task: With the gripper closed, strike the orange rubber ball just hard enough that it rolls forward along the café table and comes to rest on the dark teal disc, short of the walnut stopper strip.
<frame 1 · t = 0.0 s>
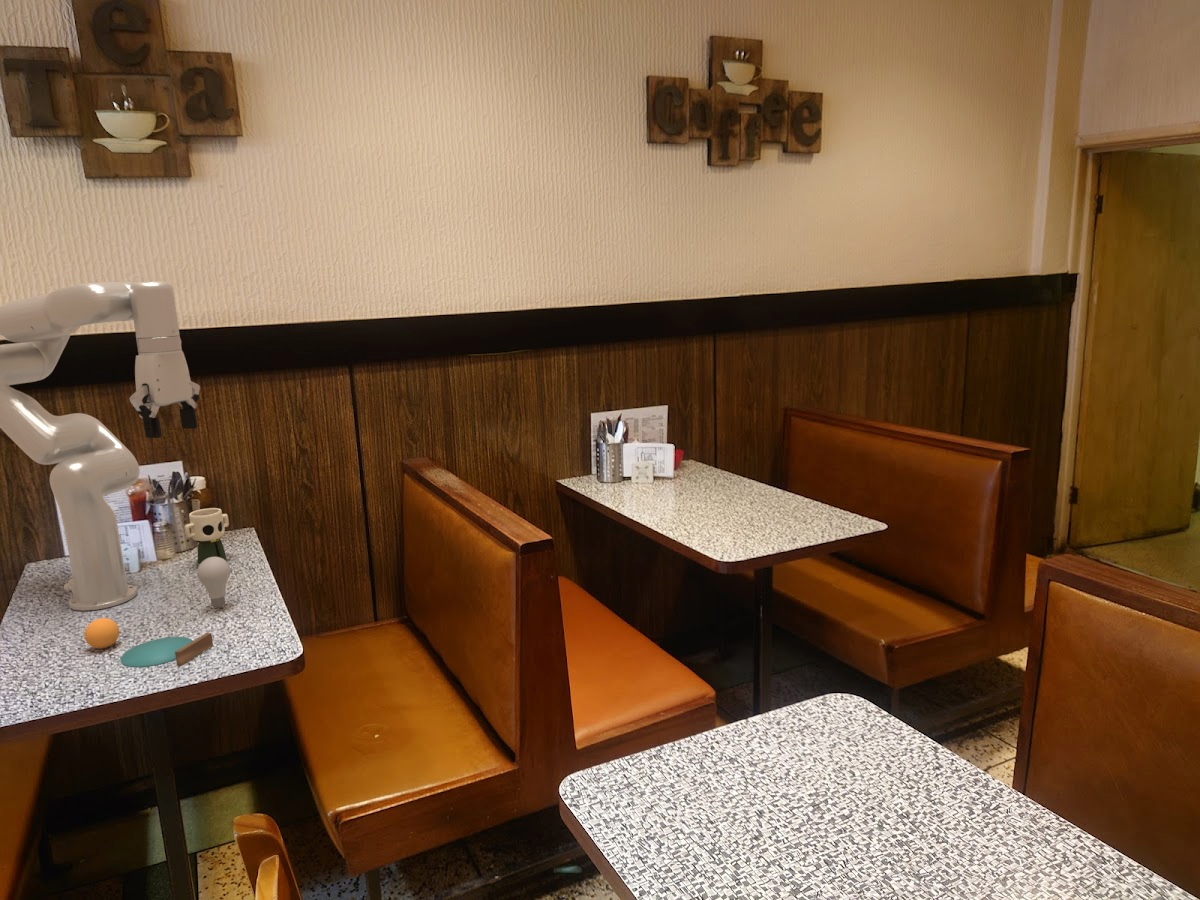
hand: (172, 432, 165), 37 cm above the table, tool pointing down, fingers open, 9 cm apart
lightbulb: (219, 609, 171), on the table
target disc: (158, 651, 151), on the table
stopper strip: (195, 655, 149), on the table
ball: (102, 633, 154), on the table
character mug: (212, 564, 199), on the table
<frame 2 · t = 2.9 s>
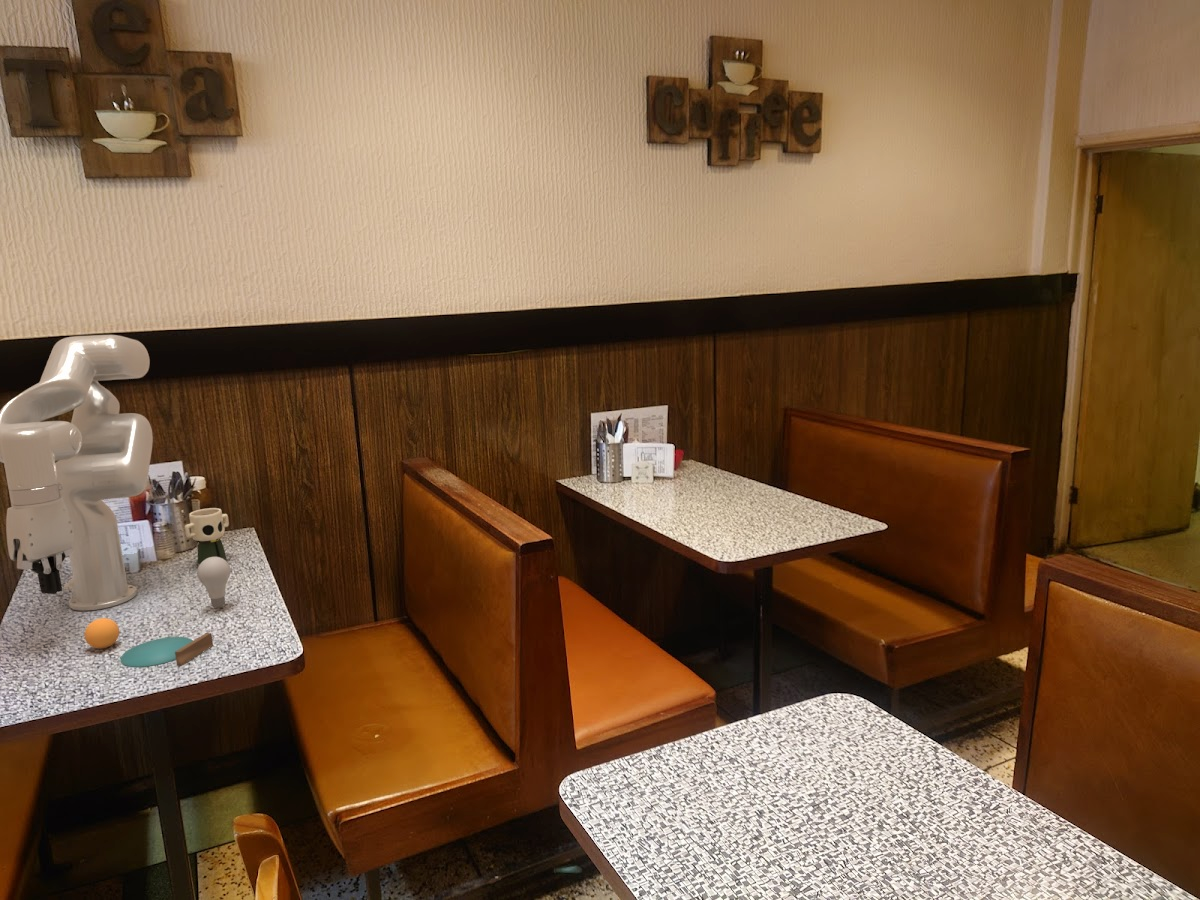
hand: (51, 591, 154), 11 cm above the table, tool pointing down, fingers closed
nothing on the table moved.
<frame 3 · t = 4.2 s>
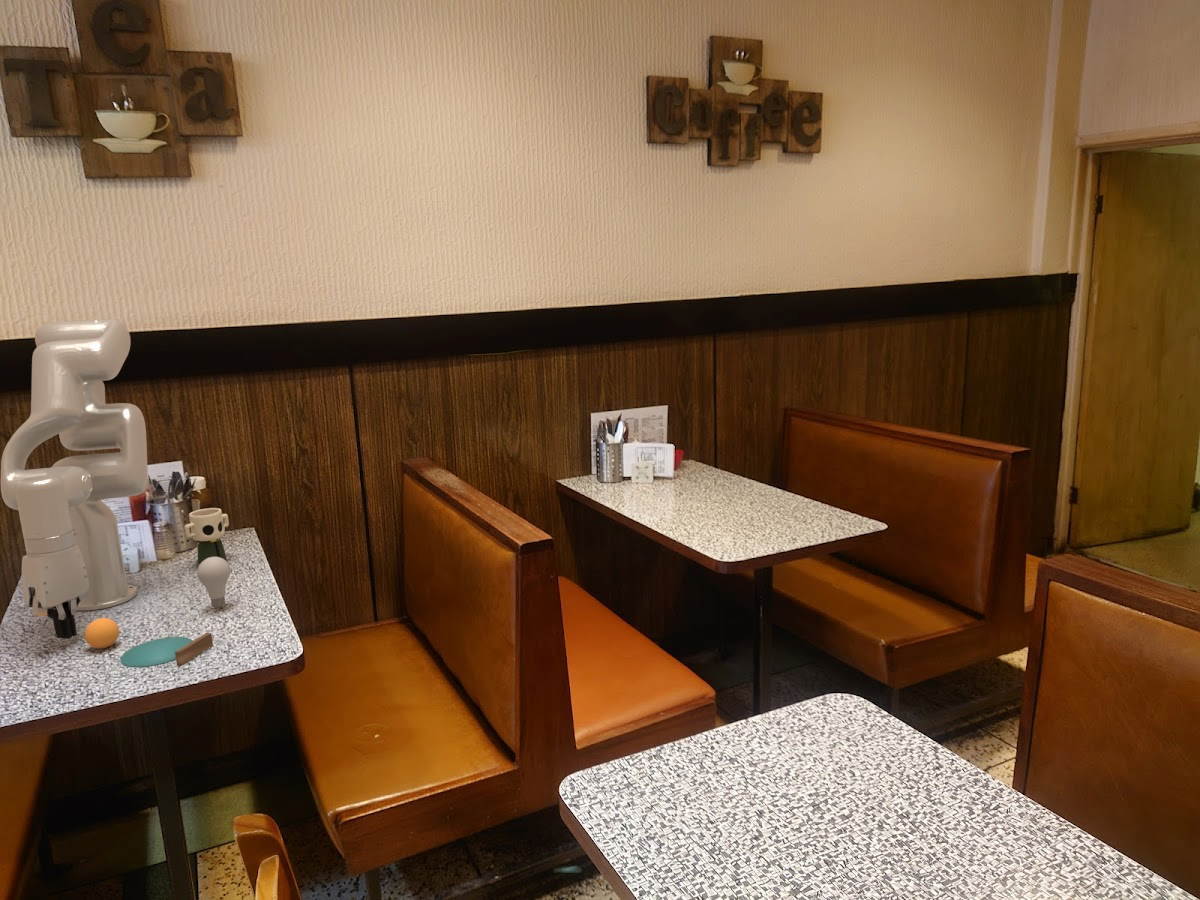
hand: (66, 636, 156), 2 cm above the table, tool pointing down, fingers closed
nothing on the table moved.
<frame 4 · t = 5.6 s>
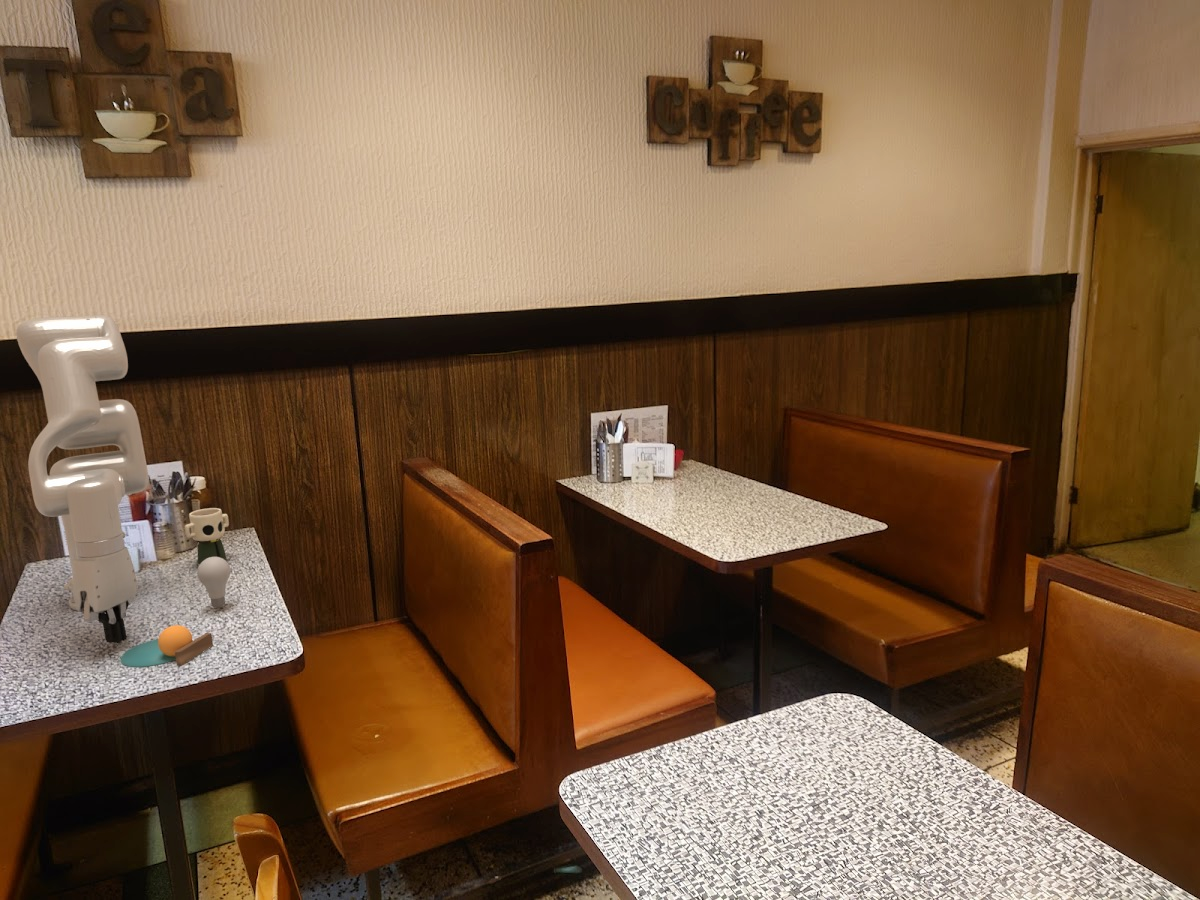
hand: (116, 640, 153), 2 cm above the table, tool pointing down, fingers closed
ball: (175, 640, 149), on the table
everything else where it was.
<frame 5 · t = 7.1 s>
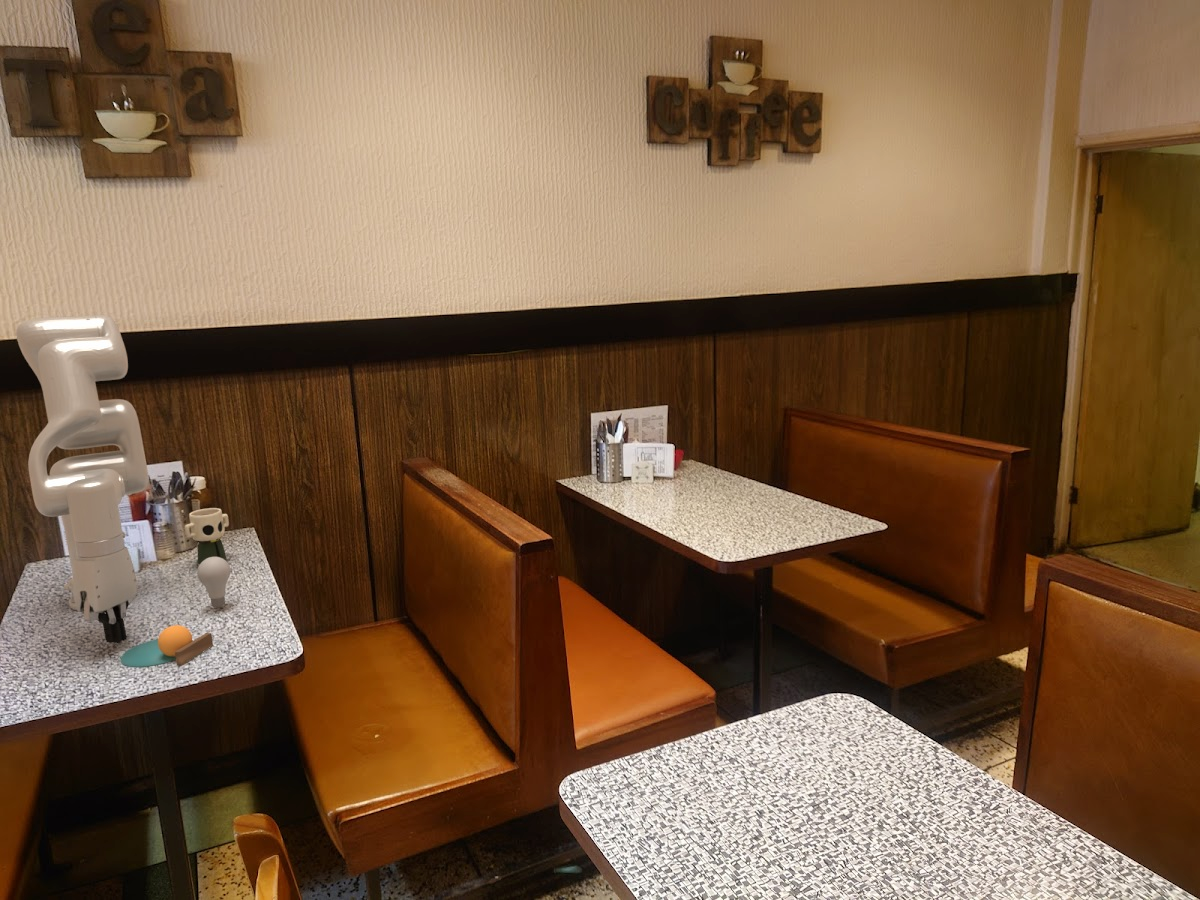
hand: (116, 640, 153), 2 cm above the table, tool pointing down, fingers closed
nothing on the table moved.
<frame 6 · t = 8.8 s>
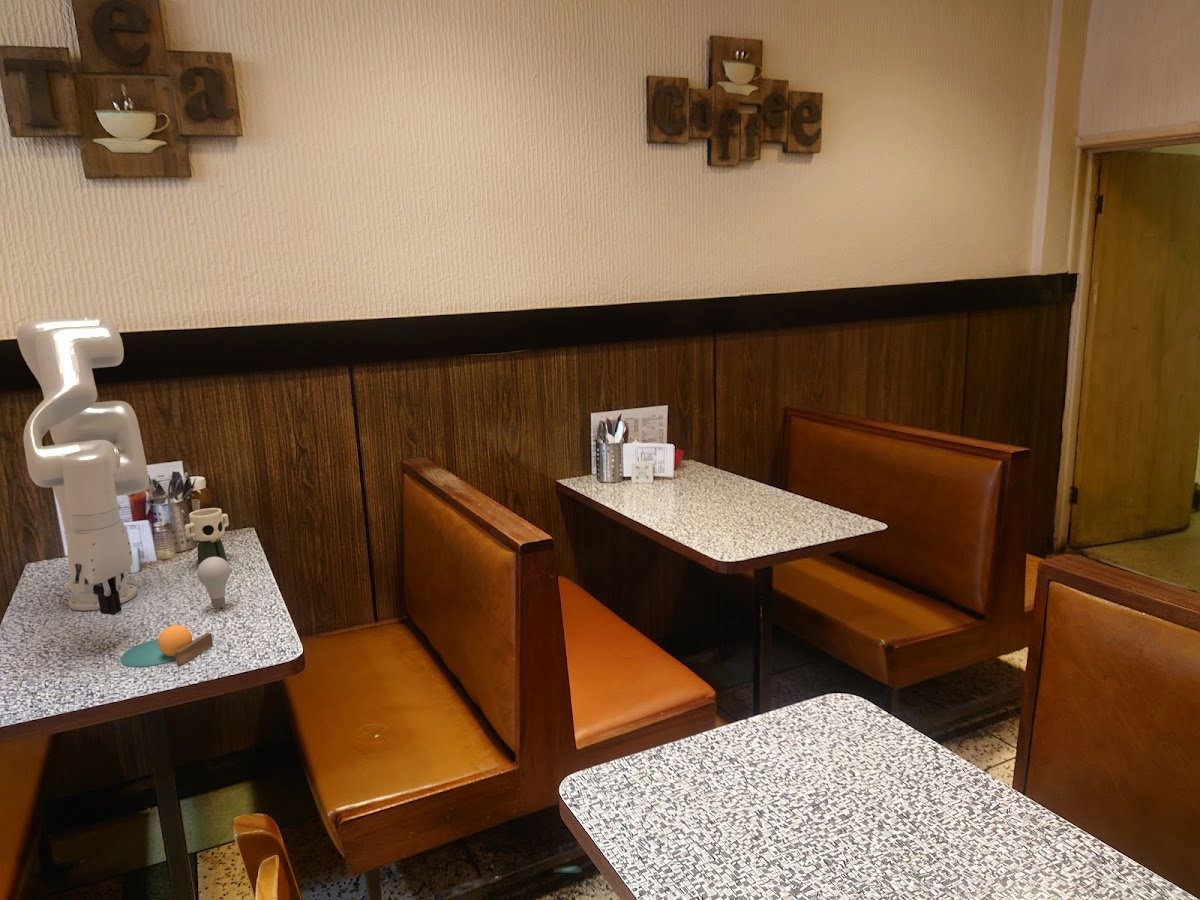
hand: (111, 612, 153), 7 cm above the table, tool pointing down, fingers closed
nothing on the table moved.
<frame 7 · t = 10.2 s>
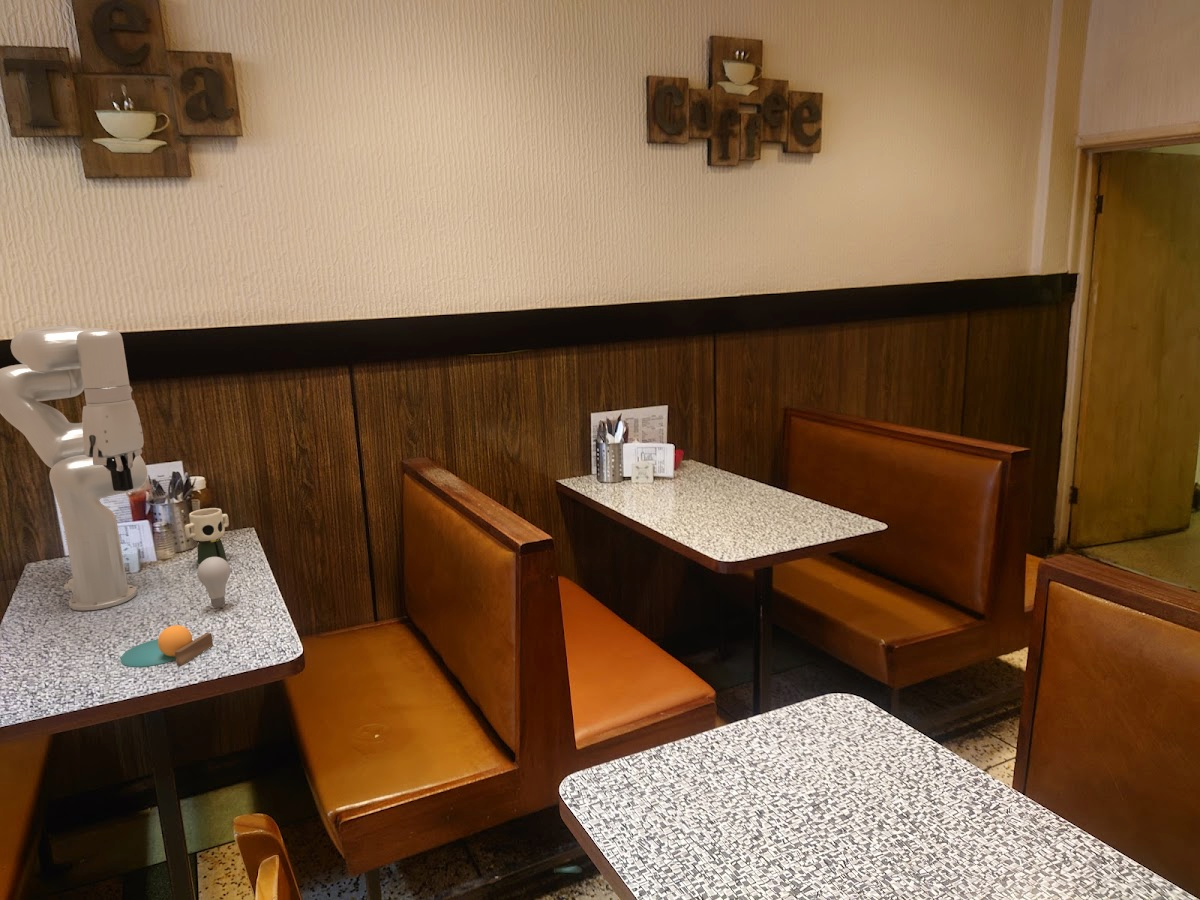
hand: (123, 489, 160), 27 cm above the table, tool pointing down, fingers closed
nothing on the table moved.
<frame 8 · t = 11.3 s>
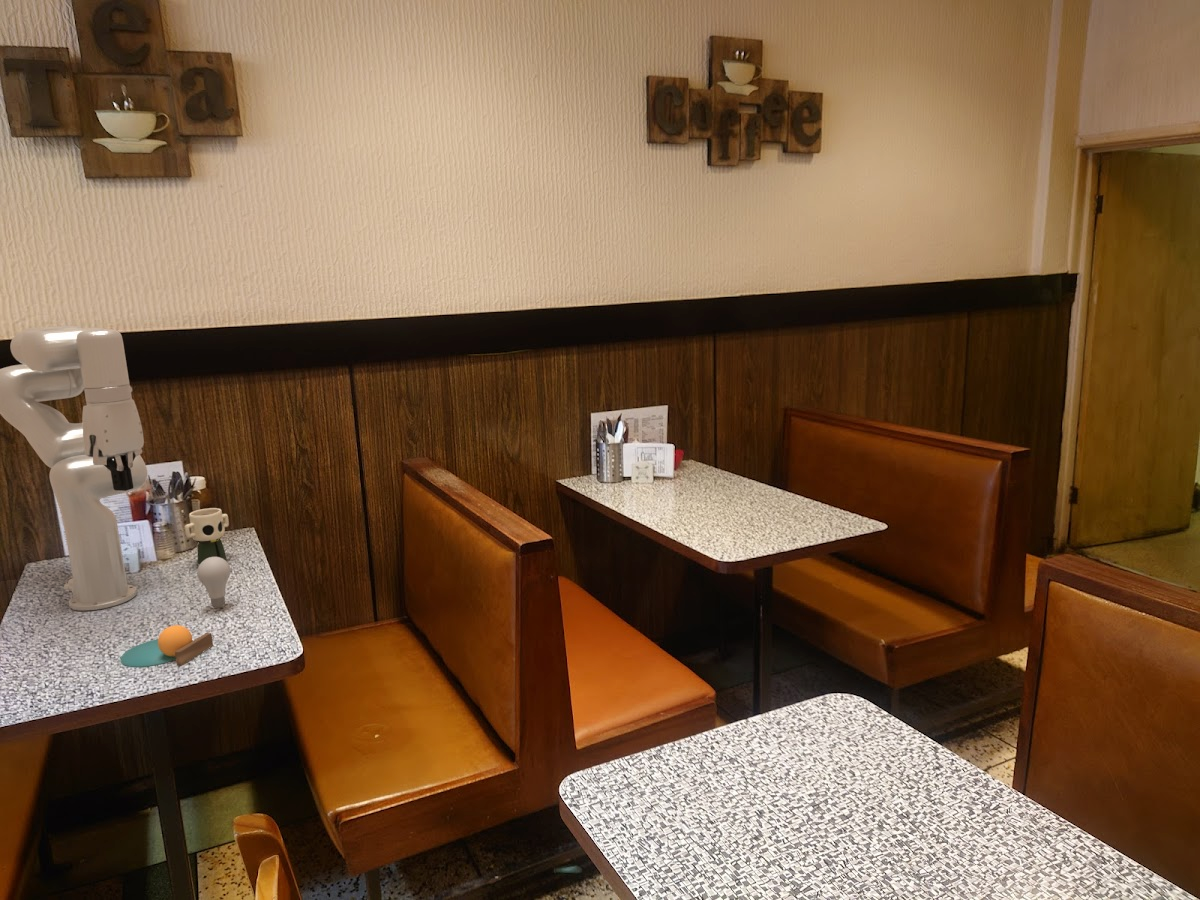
hand: (123, 489, 160), 27 cm above the table, tool pointing down, fingers closed
nothing on the table moved.
at the end: ball 4.6 cm from the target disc (horizontally); ball at rest at the end (0.0 cm/s); ball moved 16.6 cm from its start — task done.
